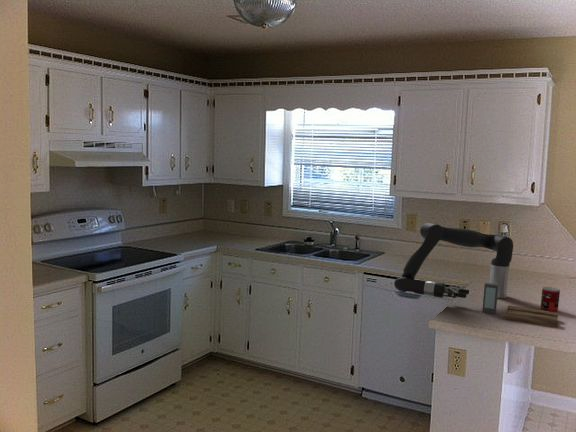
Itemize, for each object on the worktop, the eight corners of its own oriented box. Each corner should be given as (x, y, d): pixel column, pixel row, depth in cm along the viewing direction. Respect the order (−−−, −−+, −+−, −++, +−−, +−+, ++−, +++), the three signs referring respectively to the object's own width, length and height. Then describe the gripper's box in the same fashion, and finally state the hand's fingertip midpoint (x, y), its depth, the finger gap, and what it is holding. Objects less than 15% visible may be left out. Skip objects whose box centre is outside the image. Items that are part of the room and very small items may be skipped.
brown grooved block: (507, 312, 279) (508, 305, 279) (557, 320, 270) (558, 312, 269) (505, 319, 268) (505, 311, 267) (556, 327, 258) (557, 319, 258)
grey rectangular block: (483, 310, 281) (485, 282, 279) (496, 312, 278) (498, 284, 277) (482, 312, 278) (484, 283, 276) (495, 314, 275) (497, 285, 274)
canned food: (537, 307, 292) (540, 286, 290) (553, 308, 291) (555, 287, 290) (544, 311, 284) (546, 290, 283) (560, 312, 284) (562, 290, 282)
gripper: (432, 284, 282) (466, 289, 275) (437, 279, 295) (470, 283, 288) (430, 299, 283) (464, 304, 276) (436, 293, 296) (469, 298, 289)
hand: (467, 294), depth 282 cm, fingers open, 8 cm apart
